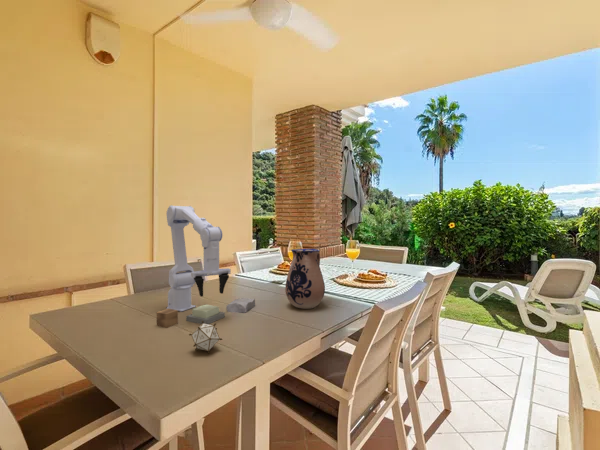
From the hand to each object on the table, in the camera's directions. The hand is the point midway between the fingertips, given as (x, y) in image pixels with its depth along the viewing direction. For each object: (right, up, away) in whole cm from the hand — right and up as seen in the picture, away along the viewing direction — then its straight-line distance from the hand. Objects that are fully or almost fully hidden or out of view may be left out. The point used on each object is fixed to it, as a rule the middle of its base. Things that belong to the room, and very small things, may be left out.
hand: (211, 294), depth 114 cm
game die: (+6, -11, -26) cm, 29 cm away
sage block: (-2, -8, +1) cm, 8 cm away
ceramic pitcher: (+37, -10, +20) cm, 43 cm away
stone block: (+8, -10, +15) cm, 20 cm away
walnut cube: (-15, -10, -5) cm, 18 cm away
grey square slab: (-3, -10, +1) cm, 11 cm away
